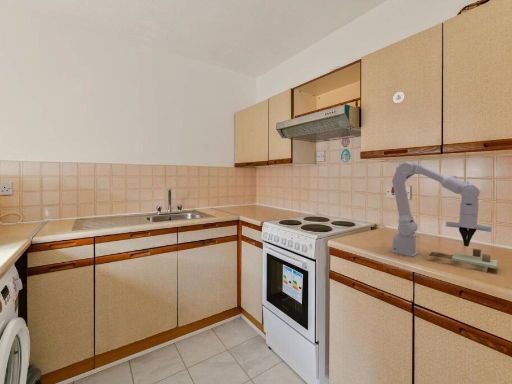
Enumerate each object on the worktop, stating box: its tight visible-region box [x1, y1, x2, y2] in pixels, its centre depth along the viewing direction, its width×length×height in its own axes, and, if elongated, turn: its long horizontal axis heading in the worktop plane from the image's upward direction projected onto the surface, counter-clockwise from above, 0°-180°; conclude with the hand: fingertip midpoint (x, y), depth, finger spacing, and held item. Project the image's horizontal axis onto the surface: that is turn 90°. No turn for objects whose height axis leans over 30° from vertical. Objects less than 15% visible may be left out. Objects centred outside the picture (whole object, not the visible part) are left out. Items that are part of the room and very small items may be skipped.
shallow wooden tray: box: [425, 250, 489, 273], centre depth 106 cm, size 20×10×2 cm, turn 44°
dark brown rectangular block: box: [472, 247, 482, 258], centre depth 108 cm, size 2×2×6 cm
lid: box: [452, 252, 499, 270], centre depth 102 cm, size 13×9×4 cm
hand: (466, 245), depth 106 cm, fingers closed
